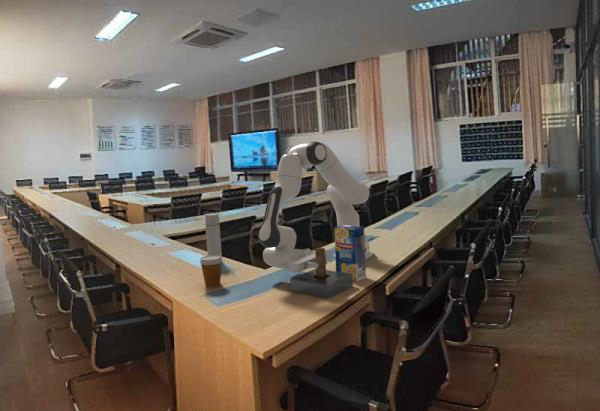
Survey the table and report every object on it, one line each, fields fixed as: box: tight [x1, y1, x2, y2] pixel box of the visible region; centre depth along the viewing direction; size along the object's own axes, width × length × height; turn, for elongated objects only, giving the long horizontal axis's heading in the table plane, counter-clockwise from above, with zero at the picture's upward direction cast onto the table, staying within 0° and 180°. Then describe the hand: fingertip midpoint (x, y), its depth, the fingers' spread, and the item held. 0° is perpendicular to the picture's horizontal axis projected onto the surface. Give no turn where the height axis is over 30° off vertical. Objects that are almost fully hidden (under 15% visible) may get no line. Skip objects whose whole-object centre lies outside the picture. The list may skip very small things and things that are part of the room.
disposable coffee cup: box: [199, 255, 223, 288], centre depth 191 cm, size 10×10×12 cm
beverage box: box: [334, 225, 367, 282], centre depth 192 cm, size 7×11×22 cm, turn 46°
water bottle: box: [203, 213, 223, 259], centre depth 231 cm, size 9×8×25 cm
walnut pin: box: [314, 247, 327, 279], centre depth 178 cm, size 4×4×14 cm
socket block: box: [289, 268, 354, 300], centre depth 179 cm, size 18×18×5 cm
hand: (322, 264), depth 178 cm, fingers closed on walnut pin, 4 cm apart
